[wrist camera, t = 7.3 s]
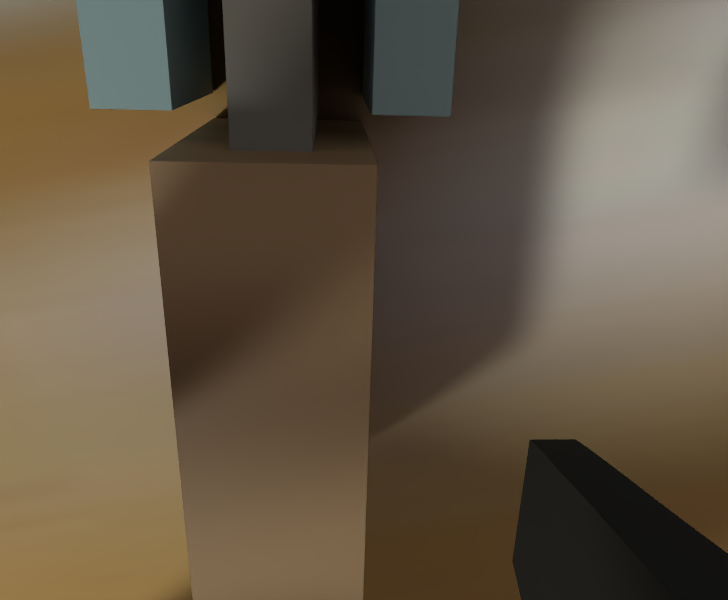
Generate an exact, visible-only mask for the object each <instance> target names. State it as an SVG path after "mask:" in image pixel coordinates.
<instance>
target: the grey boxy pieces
mask: <svg viewBox="0 0 728 600" xmlns="http://www.w3.org/2000/svg"><path fill="white" fill-rule="evenodd" d="M76 5H77V13H78V20H79V28H80V36H81V44H82V51H83V59H84V67H85V74H86V82H87V90H88V98H89V105H90V109H134V110H174V109H176V108H178V107H181V106H183V105H185V104H188V103H190V102H192V101H195V100H197V99H199V98H202V97H204V96H206V95H209V94H211V93H213V87H212V71H211V54H210V37H209V20H208V3H207V0H76ZM458 12H459V0H365V15H364V57H363V98H364V100H365V102H366V104H367V106H368V108H369V110H370V111H371V113H372V115H402V116H447V117H451V106H452V92H453V79H454V65H455V52H456V39H457V25H458Z"/></svg>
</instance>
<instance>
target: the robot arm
mask: <svg viewBox="0 0 728 600" xmlns="http://www.w3.org/2000/svg"><path fill="white" fill-rule="evenodd" d="M513 565H514V569H515V574H516V578H517V582H518V587H519V591H520V595H521V599H522V600H728V553H726V552H725V551H724V550H722V549H721V548H720V547H718V546H717V545H715V544H714V543H713V542H711V541H710V540H709V539H707V538H706V537H705V536H703V535H702V534H700V533H699V532H698V531H696V530H695V529H694V528H692V527H691V526H690V525H688V524H687V523H686V522H684V521H683V520H682V519H680V518H679V517H678V516H676V515H675V514H674V513H673V512H671V511H670V510H669V509H667V508H666V507H665V506H663V505H662V504H661V503H659V502H658V501H657V500H655V499H654V498H653V497H652V496H650V495H649V494H648V493H646V492H645V491H644V490H642V489H641V488H640V487H639V486H637V485H636V484H635V483H633V482H632V481H631V480H630V479H628V478H627V477H626V476H624V475H623V474H622V473H620V472H619V471H618V470H617V469H615V468H614V467H613V466H611V465H610V464H609V463H607V462H606V461H605V460H603V459H602V458H601V457H599V456H598V455H597V454H595V453H594V452H593V451H591V450H590V449H588V448H587V447H586V446H584V445H583V444H581V443H580V442H578V441H577V440H575V439H570V440H530V442H529V449H528V456H527V463H526V470H525V477H524V484H523V491H522V498H521V505H520V512H519V519H518V526H517V533H516V540H515V548H514V555H513Z"/></svg>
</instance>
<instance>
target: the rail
mask: <svg viewBox="0 0 728 600" xmlns="http://www.w3.org/2000/svg"><path fill="white" fill-rule="evenodd" d="M222 7H223V26H224V45H225V65H226V84H227V103H228V118H214V119H212V120H211V121H209V122H208V123H206V124H205V125H203V126H202V127H200V128H199V129H197V130H196V131H194V132H192V133H191V134H189V135H188V136H186V137H185V138H183V139H182V140H180V141H179V142H177V143H176V144H174V145H173V146H171V147H170V148H168V149H167V150H165V151H164V152H162V153H161V154H159V155H158V156H156V157H155V158H153V159H152V160H150V161H149V166H150V176H151V186H152V196H153V206H154V216H155V226H156V236H157V246H158V256H159V266H160V276H161V286H162V296H163V306H164V316H165V326H166V337H167V347H168V357H169V367H170V377H171V387H172V397H173V407H174V417H175V427H176V437H177V447H178V457H179V467H180V477H181V487H182V497H183V508H184V518H185V528H186V538H187V548H188V558H189V568H190V578H191V588H192V598H193V600H363V586H364V557H365V528H366V499H367V470H368V440H369V411H370V382H371V353H372V324H373V295H374V266H375V236H376V207H377V178H378V164H377V161H376V159H375V156H374V153H373V150H372V147H371V145H370V142H369V139H368V136H367V134H366V131H365V128H364V125H363V123H362V121H331V120H318V0H222Z"/></svg>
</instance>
